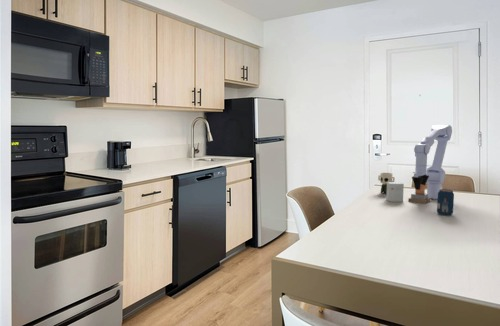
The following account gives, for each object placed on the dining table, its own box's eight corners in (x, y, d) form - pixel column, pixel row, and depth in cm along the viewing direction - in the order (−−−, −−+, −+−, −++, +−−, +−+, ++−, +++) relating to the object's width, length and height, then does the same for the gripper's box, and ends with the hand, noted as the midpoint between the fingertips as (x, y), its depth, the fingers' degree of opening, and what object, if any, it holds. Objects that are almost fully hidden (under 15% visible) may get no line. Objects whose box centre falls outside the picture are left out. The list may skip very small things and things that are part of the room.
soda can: (447, 212, 178) (448, 189, 177) (456, 216, 171) (457, 191, 170) (433, 212, 178) (435, 189, 176) (441, 216, 171) (443, 191, 170)
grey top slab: (415, 196, 209) (415, 192, 209) (427, 198, 204) (428, 193, 204) (411, 198, 204) (411, 194, 204) (424, 199, 199) (424, 195, 199)
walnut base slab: (414, 200, 210) (414, 196, 210) (430, 202, 204) (430, 198, 204) (408, 202, 204) (408, 198, 204) (424, 205, 198) (425, 200, 197)
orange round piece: (419, 192, 207) (419, 183, 206) (426, 194, 202) (426, 185, 201) (413, 193, 205) (413, 184, 204) (420, 195, 200) (420, 186, 200)
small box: (400, 199, 209) (400, 182, 207) (403, 201, 203) (404, 183, 202) (386, 199, 209) (386, 181, 208) (388, 201, 204) (389, 183, 203)
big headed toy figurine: (374, 193, 229) (375, 173, 228) (380, 191, 234) (381, 172, 232) (390, 195, 221) (391, 174, 219) (396, 194, 225) (397, 173, 224)
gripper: (418, 163, 210) (417, 186, 211) (408, 165, 199) (407, 189, 201) (431, 164, 205) (430, 187, 206) (421, 166, 194) (420, 190, 196)
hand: (420, 188), depth 203 cm, fingers open, 7 cm apart
